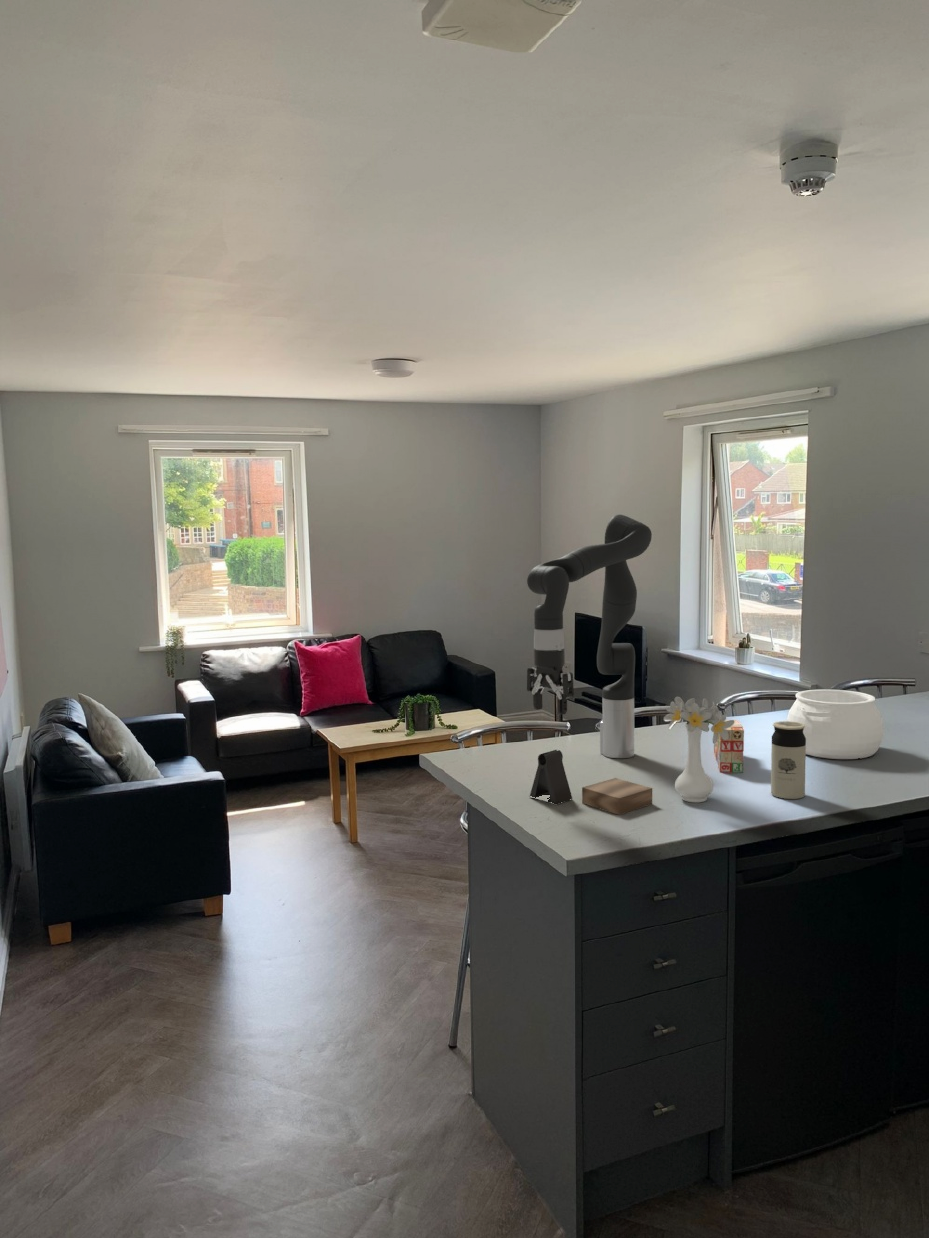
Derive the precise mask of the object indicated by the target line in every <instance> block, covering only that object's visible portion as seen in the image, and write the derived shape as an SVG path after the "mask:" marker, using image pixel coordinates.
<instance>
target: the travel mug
mask: <svg viewBox="0 0 929 1238" xmlns="http://www.w3.org/2000/svg"><path fill="white" fill-rule="evenodd" d="M772 726H773V729H774V732H773V734H772V735H771V753H770V754H771V756H770V757H771V760H770V761H771V763H770V765H771V766H770V768H771V770H770V794H771V795H772V796H774V797H776V798H778V797H779V798H778V799H782V798H784V799H783V800H799V799H802V798H804V797H805V796H806V757H807V756H806V755H807V754H806V738H805V736H804V734H803V730H804V727H805V725H804V724H802V723H799V722H792V721H787V720H783V721H782V720H781V721H775V722H773V723H772Z"/></svg>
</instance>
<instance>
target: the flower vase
mask: <svg viewBox="0 0 929 1238" xmlns="http://www.w3.org/2000/svg"><path fill="white" fill-rule="evenodd" d="M701 705H702V706H701V707H700V706H699V704H698V703H696V699H695V698H694V697H692V698H689V699H687V701H686V702H684V700H683V699H682V698H681V697H680V696H675V697H674V701H671V702H670V704H669V707H667V708H666V712H668V713H667V714H666V715H665V716H663V721H664V722H669V724H668V726H667V727H668V729H667V730H668V731H670V730H672V729H673V727H674V726H675V725H676V724H677V723H680V722H681V720H683V721H686V723H684V726H685V728H686V734H687V760H686V764H685V767H684V769H683V771H682V773H680V774H679V776H677V778H676V779H675V782H674V789H675V790H676V792H677V793H678V794H679V795H680V797H681V800H683V801H685V802H688V803H696V804H697V803H703V802H707V800H708V797H709V796H710V795H711V794H712V792H713V791H714V788H715V787H714V783H713V781H712V779H711V777H710V776H709V775H708V774H707V773H706V771H705V770H704V767H703V764H702V754H701V750H702V749H701V738H702V732H704V733H705V732H706V733H708V732H709V731H711V733H713V736H712V744H714V743H716V742H717V740H718V738H719V735H720V736H721V737H722V739H724V740H727V739H728V737H729V735H728V732H727V731H726V730H725V729H726V728H729V727H731V726H732V725H733V724H734V720H735V719H728V720H729V721H725V720H727V715H726V714H725V713H724V714H722V715H721V713H720V712H719V710H720V709H719V707H718V706H716V704H715V702H714V700H713V701H712V706H711V707H709V701H708V700H707V698H704V697H703V698H702V704H701ZM723 721H725V722H723ZM710 724H711V725H712V726H711V728H710V727H709V726H710ZM718 734H719V735H718Z"/></svg>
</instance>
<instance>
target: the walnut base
mask: <svg viewBox="0 0 929 1238" xmlns="http://www.w3.org/2000/svg"><path fill="white" fill-rule="evenodd" d="M581 789H582V791H581V796H582V799H581V801H582V804H583V803H584V804H583V805H586V804H587V805H586V806H589V805H590V807H593V808H596V809H599V808H601V809H600V810H602V809H603V811H605V810H606V811H605V812H609V813H611V814H612V813H613V814H615V815H618V816H620V815H623V814H626V813H629V812H632V811H636V810H639V809H641V808H645V807H647V806H651V805H653V787H649V786H646V785H643V784H638V783H636V782H635V783H634V782H631V781H628V780H624V779H620V778H618V777H617V778H616V777H614V778H611V779H607V780H603V781H600V782H597V783H593V784H590V785H586V786H583V787H582V788H581Z"/></svg>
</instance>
